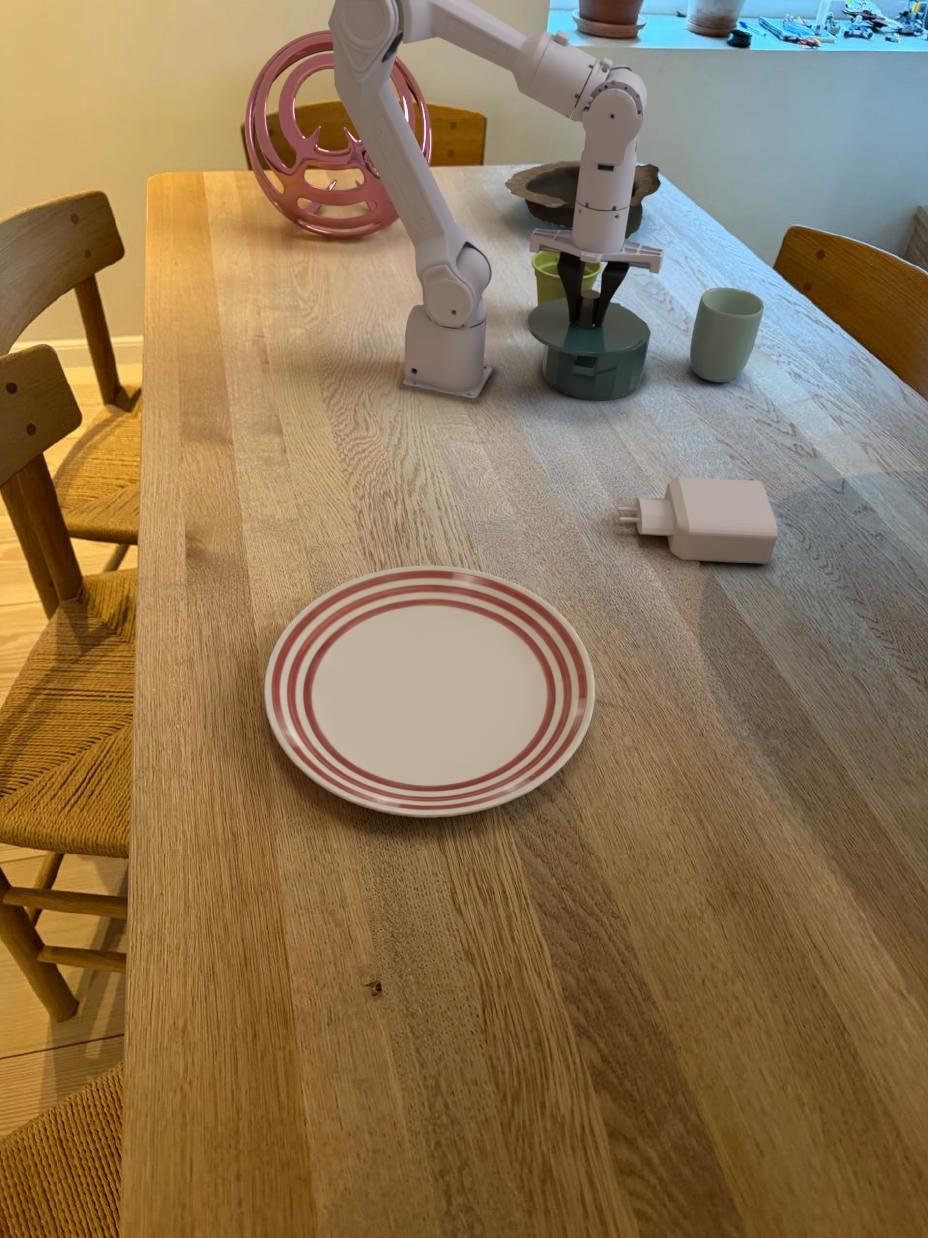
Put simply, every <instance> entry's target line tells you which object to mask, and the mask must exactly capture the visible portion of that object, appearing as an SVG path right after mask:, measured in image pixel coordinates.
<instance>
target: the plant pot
mask: <svg viewBox="0 0 928 1238" xmlns="http://www.w3.org/2000/svg"><path fill="white" fill-rule="evenodd" d="M559 258H560V254H554V253H549V252H543V251H540V252H539V253H535V254H534V255H533V256H532V257H531V266H532V268H533V271H534V276H535V280H536V298H537V300H536V301H537V306H538V305H540V304H542V303H545V302H548V301H551V300H555V299H560V298H566V293H565V290H564V287H563V284H562V281H561V279H560V276H559V274H558V272H557V264H558V262H559ZM602 271H603V262H601V261H599V262H598V263H590V262H586V264H585V269H584V275H583V281H582V288H581V291H582V290H587V289H590V290H593V287H594V283H595V282H596V281H597V278H598V275H599V274H600V273H602Z"/></svg>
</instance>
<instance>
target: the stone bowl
mask: <svg viewBox="0 0 928 1238" xmlns="http://www.w3.org/2000/svg"><path fill="white" fill-rule="evenodd" d="M580 162H581V160H572V161H571V160H570V161H569V160H562V161H558V162H550V163H544V164H540V165H537V166H533V167H531V168H528V169H524V170H521V171H518V172H516V173H513V175H512V176H511V178H508V179H507V180H506V182H504V186H505V188H506V189H508V190H509V191H510V194H511V195H513V196H516V197H519V198H522V199H524V202H525V205H526V208H527V211H528V213H529V214H530V216H532V217H533V218H536V219H537V220H540V221H542V222H543V223H547V224H548V225H553V226H558V227H560V226H561V227H563V228H565V229H573V220H574V212H575V203H576V196H577V188H578V179H579V171H580ZM659 172H660V168H659V167H658V166H657V165H653V164H651V163H647V164H644V165H640V164H636V168H635V175H634V181H633V188H632V194H631V201H630V206H629V213H628V219H627V225H626V232H625V239H628V240H629V238H630V237H631V235H632V234H635V233H636V232H638V230H639V228H640V226H641V225H642V219H643V213H644V207H643V204H642V202H643V200H644V198H645V197H649V196H651V195H653V194H654V193H656V192H657V191H658V190H659V188H660V187H661V185H662V181H661V180H660V178H659V177H660V175H659Z"/></svg>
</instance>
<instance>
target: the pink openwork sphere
mask: <svg viewBox="0 0 928 1238" xmlns="http://www.w3.org/2000/svg"><path fill="white" fill-rule="evenodd" d="M324 52H327V53H324ZM329 52H331V53H329ZM332 52H333V36H332V33H331V31H330V29H326V30H317V31H312V32H309V33H305V34H304V35H300V36H299V37H296V38H294V39H293V40H291V41H289V42H288V43H286V44H284V45H283V46H282V47H281V48H279V49H277V51H276V52H274V53H273V55H271V57H270V58H269V59H268V60H267V61H266V63H265V64H264V65H263V67H262V68H261V69H260V71H259V72H258V74H257V76H256V77H255V80H254V81H253V83H252V87H251V90H250V92H249V95H248V99H247V103H246V107H245V115H244V135H245V142H246V149H247V153H248V155H249V156H248V158H249V161H250V165H251V168H252V171H253V174H254V176H255V179H256V181H257V183H258V185H259V187H260V189H261V190H262V192H263V194H264V195H265V197H266V199H268V201H269V202H270V203H271V205H272V206H273V207H274V209H276V210H277V211H278V212H279V213H280V214H281V215H282V216H283V217H285V219H287V220H288V221H290V222H291V223H293V224H294V225H295V226H297V227H299V228H301V229H303V230H305V231H307V232H309V233H312V234H314V235H318V236H321V237H325V238H330V239H344V240H345V239H357V238H362V237H367V236H369V235H372V234H375V233H378V232H380V231H382V230H384V229H386V228H388V227H389V226H391V225H393V224H394V223H395V222H397V221H398V220H399V219H400V217H399V215H398V213H397V211H396V209H395V207H394V205H393V203H392V201H391V199H390V197H389V195H388V193H387V191H386V189H385V187H384V185H383V183H382V181H381V179H380V177H379V175H378V173H377V171H376V169H375V167H374V166H373V164H372V161H371V159H370V157H369V155H368V153H367V151H366V149H365V147H364V145H363V143H362V141H361V139H360V138H359V139H356V138H355V136H353V134H352V133H351V132H350V130H348V128H347V127H345V126H343V127H342V128H343V132H344V135H345V137H346V141H347V144H348V145H347V147H346V148H344V149H339V150H329V149H324V148H321V147H319V145H318V139H319V136H320V134H321V131H322V125H318V126H317V128H316V129H315V130H314V131H313V132H312V134H311V135H309V137H306V136H305V135H304V134H303V132H302V131H301V129H300V127H299V125H298V122H297V119H296V114H295V113H296V111H295V106H296V105H295V104H296V98H297V96H298V93H299V90H300V88H301V86H302V85H303V84H304V82H305V81H307V79H308V78H310V77H311V76H312V75H313V74H314V75H315V73H318V72H321V71H324V70H334V55H333V53H332ZM319 53H321V54H319ZM312 55H314V56H312ZM310 56H311V57H310ZM307 57H309V58H307ZM305 58H307V59H305ZM302 59H305V60H303V61H302V62H300V63H299V64H298V65H296V67H294V69H293V70H292V71H291V72H290V73H289V74H288V76H287V78H286V79H285V81H284V84H283V86H282V88H281V90H280V94H279V98H278V99H279V100H278V120H279V125H280V128H281V131H282V135H283V137H284V138H285V140H286V142H287V143H288V146H289V147H290V148H291V149H292V151H293V153H294V154H295V157H296V159H295V162H294V165H293V166H292V167H291V168H289V167H288V166H286V165H285V163H284V162H283V161H282V160H281V158H280V157H279V155H278V153H277V151H276V150H275V148H274V146H273V143H272V140H271V138H270V134H269V130H268V125H267V124H268V123H267V105H268V99H269V94H270V91H271V89H272V86H273V84H274V82H275V81H277V79H278V78H279V77H280V75H282V74H283V72H284V71H286V70H287V69H289V67H291V66H293V65H294V64H295V63H298V62H299V61H300V60H302ZM389 79H391V81H392V83H393V85H394V87H395V89H396V92H397V94H398V97H399V102H400V106H401V108H402V110H403V113H404V115H405V117H406V119H407V121H408V123H409V125H410V127H411V130H412V132H413V134H414V136H415V135H416V113H415V112H416V111H415V105H414V102H413V99H414V100H415V102H416V105H417V108H418V110H419V112H420V116H421V117H420V118H421V145H420V149H421V151H422V153H423V155H424V157H425V159H426V162H427V164H428V166H429V168H430V167H431V164H432V163H431V162H432V156H433V155H432V154H433V131H432V124H431V119H430V114H429V111H428V107H427V103H426V100H425V97H424V94H423V92H422V90H421V87H420V86H419V83H418V82H417V80H416V78H415V77H414V75H413V73H412V72H411V70H410V69H409V68H408V66H407V65H406V64H405V63H404V61H403V60H401V58H399V56H397V55H396V58H395V61H394V64H393V68H392V71H391V74H390V77H389ZM412 98H413V99H412ZM255 136H256V137H257V138H256V137H255ZM256 139H257V142H258V146H259V148H260V151H261V153H262V156H263V158H264V160H265V162H266V164H267V165H268V167H269V168H270V170H271V171H272V172H273V174H274V175H275V176H276V177H277V179H278V180H279V181H280V183H281V185H282V187H283V192H280V191H279V190H278V189H277V188H276V187H275V185H274V184H273V183H272V182H271V181H270V179H269V177H268V176H267V174H266V172H265V171H264V169H263V167H262V165H261V162H260V160H259V158H258V154H257V151H256ZM308 167H315V168H318V169H320V170H321V169H322V170H326V171H345V170H350V169H352V168H357V169H359V170H360V172H361V174H362V176H363V181H362V183H360V182H359V180H357V179H355V181H354V182H355V185H356V186H355V187H352V188H351V187H350V188H345V189H335V186H336V184H337V183H338V179H334V180H333V181H331V182H330V183H329V184H328V186H327V187H326V188H323V187H319V186H316V185H313V184H311V183H309V182H308V181H307V180H306V175H305V174H306V172H307V168H308ZM300 199H305V200H307V201H310V203H308V204H307V205H306V206H304V207H301V205H299V202H298V201H299V200H300ZM363 202H364V203H365V204H366V206H367V208H368V209H369V210H370V211H369V212H368V213H365V214H361V215H357V216H352V217H341V218H340V217H339V218H337V217H336V218H335V217H327V216H323V215H322V216H321V215H318V214H317V212H318V211H319V210H320V209H321V208H322V206H330V207H345V206H353V205H358V204H360V203H363ZM373 224H374V225H373ZM370 225H373V226H370ZM367 226H370V227H367ZM363 227H366V228H363ZM323 228H324V229H323ZM359 228H363V229H359ZM327 229H330V230H327ZM352 229H359V230H353V231H334V230H352Z"/></svg>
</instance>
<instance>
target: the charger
mask: <svg viewBox="0 0 928 1238" xmlns="http://www.w3.org/2000/svg"><path fill="white" fill-rule="evenodd" d="M616 510H617V511H618V512H629V513H631V512H632V513H635V517H633V516H619V517H618V521H619V522H624V523H625V522H626V523H636V528H637V532H638V534H639V535H643V536H645V535H646V536H665V537H667V540H668V546H669V551H670V553H671V554H673V555H674V556H675V557H676V558H678V559H680V560H682V561H683V560H684V561H699V562H718V563H719V562H720V563H738V564H739V563H740V564H757V565H758V564H760V565H761V564H762V565H768V564H769V563H770V560H771V557H772V554H773V551H774V548H775V546H776V543H777V540H778V536H779V535H778V532H779V531H778V525H777V521H776V518H775V515H774V512H773V509H772V506H771V503H770V500H769V498H768V494H767V492H766V488H765V485H764V483H763V482H762V481H761V480H751V479H750V480H749V479H746V480H745V479H731V478H730V479H728V478H710V477H707V478H706V477H691V476H690V477H689V476H676V477H675V478H673V479H672V480H670V481H669V482H668V483H667V486H666V490H665V494H664V498H656V497H655V498H654V497H636V498H635V506H617V507H616Z"/></svg>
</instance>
